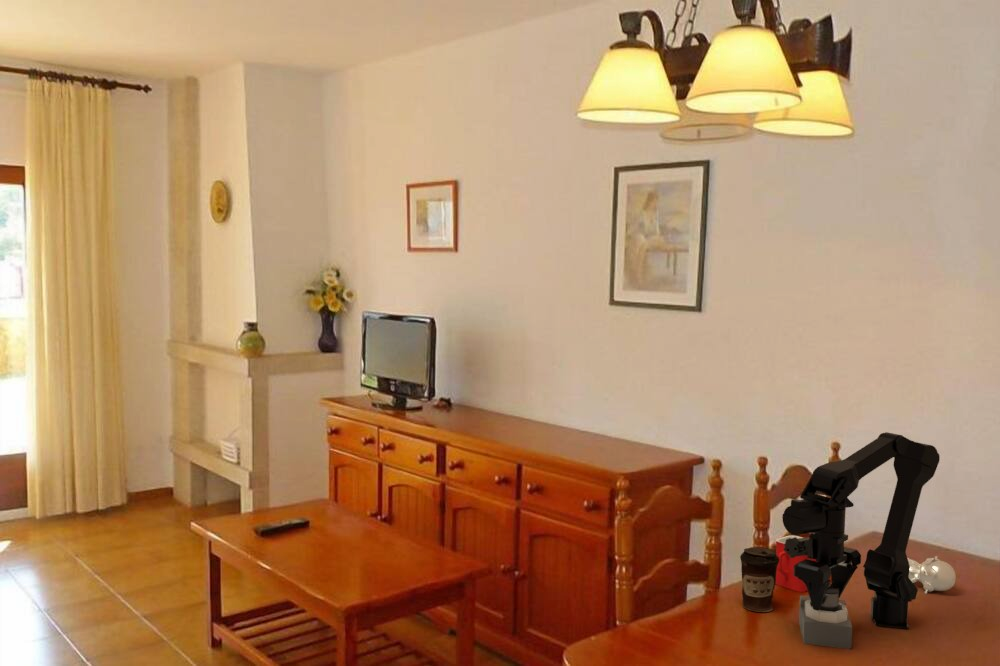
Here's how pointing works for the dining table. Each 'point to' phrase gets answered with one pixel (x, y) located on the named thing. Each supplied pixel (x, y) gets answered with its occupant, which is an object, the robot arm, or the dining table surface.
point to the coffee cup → (758, 578)
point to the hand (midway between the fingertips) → (826, 604)
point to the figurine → (932, 574)
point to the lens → (831, 599)
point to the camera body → (825, 625)
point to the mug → (788, 567)
